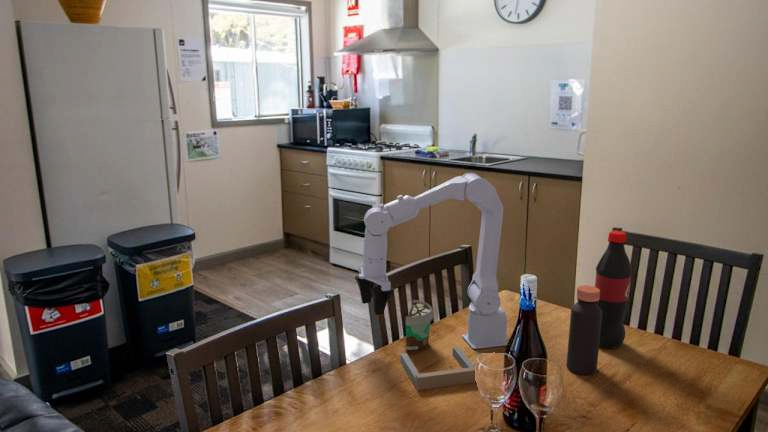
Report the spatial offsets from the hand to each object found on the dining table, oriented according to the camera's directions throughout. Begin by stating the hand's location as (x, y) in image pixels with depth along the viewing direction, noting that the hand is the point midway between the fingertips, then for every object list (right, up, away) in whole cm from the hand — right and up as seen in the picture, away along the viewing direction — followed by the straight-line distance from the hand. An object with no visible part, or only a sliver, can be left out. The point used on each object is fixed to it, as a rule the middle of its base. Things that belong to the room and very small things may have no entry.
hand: (372, 308), depth 140 cm
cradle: (+16, -13, -9) cm, 22 cm away
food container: (+12, -10, +3) cm, 16 cm away
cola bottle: (+61, -10, +4) cm, 62 cm away
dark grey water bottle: (+50, -13, -9) cm, 52 cm away
